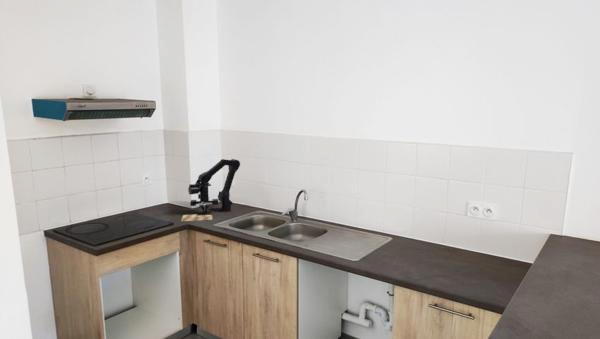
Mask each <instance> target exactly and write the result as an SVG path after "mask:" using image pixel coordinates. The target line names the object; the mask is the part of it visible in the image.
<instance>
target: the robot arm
mask: <svg viewBox="0 0 600 339" xmlns="http://www.w3.org/2000/svg"><path fill="white" fill-rule="evenodd" d="M225 166H228V173H227V175H226V178H225V182H224V185H223V188H222V190H221V191H218V195H217V198H212V200H210V198H209V187H211V186H212V184H211V183H209V182H210V180H211V179H212V177H213V176H214V175H215V174H216V173H218V172H219V171H220V170H221V169H223V168H224V167H225ZM240 167H241V162H240V161H239V160H238V159H234V158H231V159H224V158H222V159H220V161H218V162H217V163H215V165H213V166H211V168H209V170H207V171H205V172H203V173H201V174H199V175H198V178H197V180H196V182H195V183H194V184H189V186H188V188H187V190H188V194H189V195H197V198H198V200H199V201H198V200H197V199H191V200H190V207H195V206H197V205H198V207H200V209H201V210H202V212H203V215H207V211H208V208H209V207H210V206H211V204H212V205H213V206H217V205H219V202H220V204H221V205H220V211H221V212H222V213H229V212H232V205H233V201H231V199H230V198H231V197H230V196H231V195H230V190H231V187H232V184H233V181H234V179H235V178H234V177H235V174H236V172H237V171H238V170H239V168H240Z"/></svg>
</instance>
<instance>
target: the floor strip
mask: <svg viewBox="0 0 600 339" xmlns="http://www.w3.org/2000/svg"><path fill="white" fill-rule="evenodd" d="M209 220H210V221H212V220H213V215H212V216H207V217H198V216H197V217H189V218H182V217H181V221H180V222H193V221H194V222H195V221H209Z"/></svg>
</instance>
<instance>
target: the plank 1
mask: <svg viewBox="0 0 600 339" xmlns="http://www.w3.org/2000/svg"><path fill="white" fill-rule="evenodd" d="M190 217H198V214H197V213H194V214H182V217H181V219H182V218H190Z"/></svg>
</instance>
